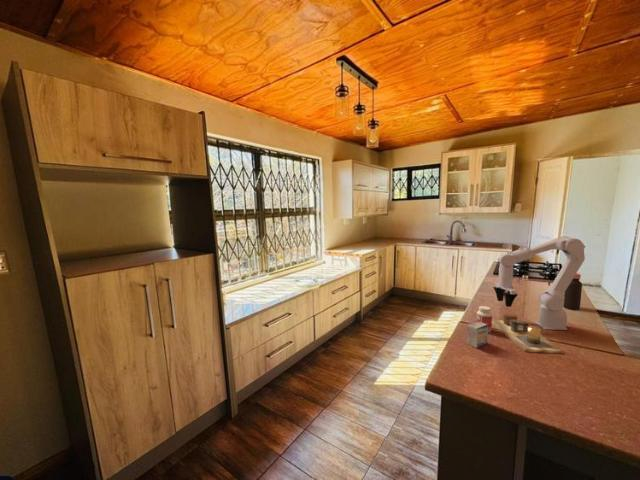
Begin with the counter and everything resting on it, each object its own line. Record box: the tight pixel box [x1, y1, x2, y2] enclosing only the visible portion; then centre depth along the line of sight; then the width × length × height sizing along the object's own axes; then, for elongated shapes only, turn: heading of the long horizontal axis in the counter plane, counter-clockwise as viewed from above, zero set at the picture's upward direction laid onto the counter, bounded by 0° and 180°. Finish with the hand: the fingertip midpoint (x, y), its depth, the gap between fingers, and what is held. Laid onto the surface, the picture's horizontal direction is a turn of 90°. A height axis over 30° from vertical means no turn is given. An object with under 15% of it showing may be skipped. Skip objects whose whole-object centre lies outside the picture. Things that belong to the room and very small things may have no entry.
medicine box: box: [466, 321, 489, 349], centre depth 112 cm, size 8×4×9 cm, turn 117°
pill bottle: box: [476, 305, 493, 333], centre depth 124 cm, size 6×6×11 cm
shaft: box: [503, 314, 523, 330], centre depth 123 cm, size 5×9×4 cm, turn 172°
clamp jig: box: [492, 319, 564, 354], centre depth 118 cm, size 14×28×5 cm, turn 172°
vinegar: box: [562, 272, 583, 311], centre depth 146 cm, size 7×7×20 cm
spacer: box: [527, 325, 542, 344], centre depth 110 cm, size 4×4×6 cm
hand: (504, 303), depth 132 cm, fingers open, 7 cm apart
